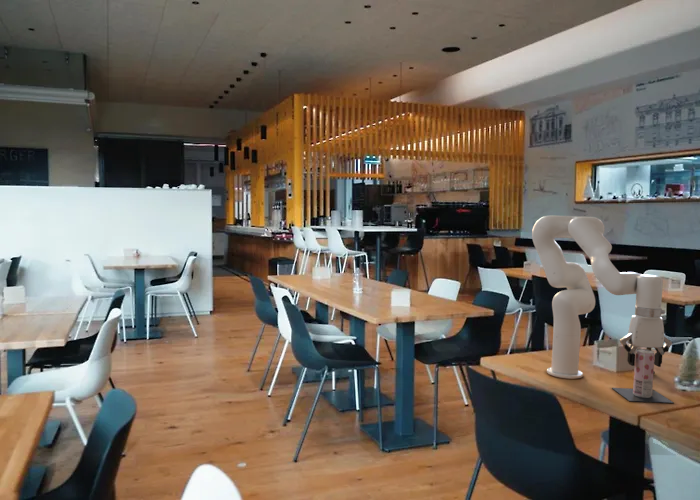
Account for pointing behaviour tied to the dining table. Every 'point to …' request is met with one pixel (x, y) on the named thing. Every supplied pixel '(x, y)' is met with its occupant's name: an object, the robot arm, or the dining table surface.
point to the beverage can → (643, 373)
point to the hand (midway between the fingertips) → (644, 365)
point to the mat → (631, 397)
